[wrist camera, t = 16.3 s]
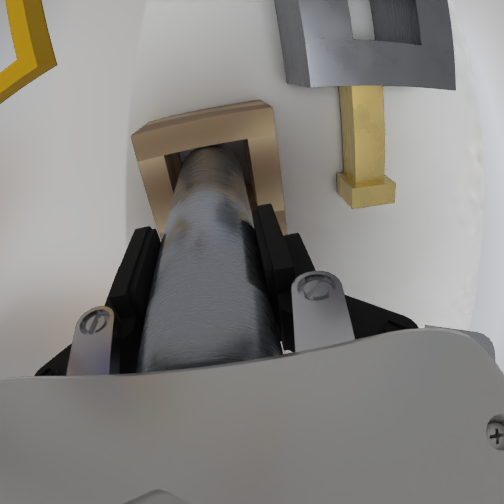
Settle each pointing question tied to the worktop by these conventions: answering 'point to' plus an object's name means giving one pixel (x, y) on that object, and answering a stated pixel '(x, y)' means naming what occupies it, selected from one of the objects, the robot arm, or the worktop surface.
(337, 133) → the worktop surface
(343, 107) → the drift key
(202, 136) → the rack
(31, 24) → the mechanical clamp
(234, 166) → the brushed metal cylinder
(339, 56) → the socket block
